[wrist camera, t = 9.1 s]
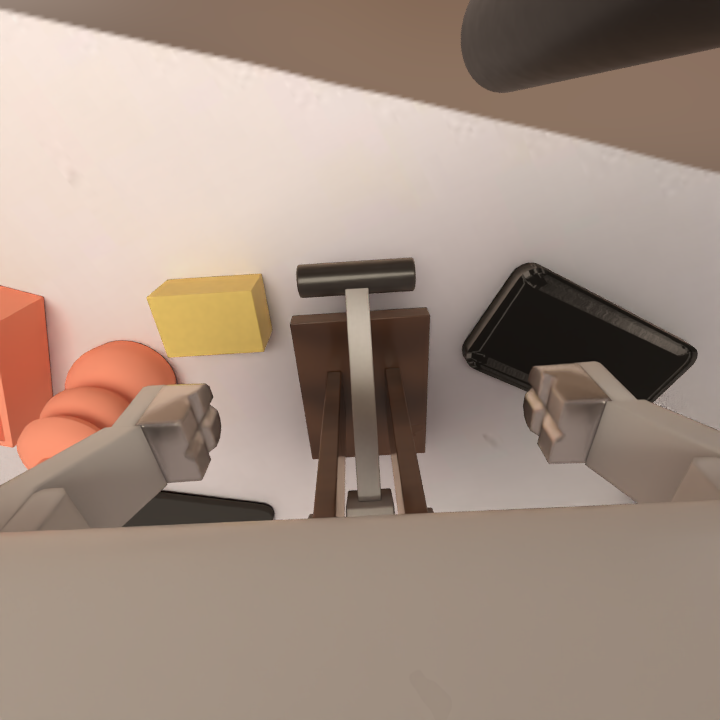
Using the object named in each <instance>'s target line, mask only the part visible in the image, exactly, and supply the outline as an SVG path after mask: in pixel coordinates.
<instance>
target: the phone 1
mask: <svg viewBox="0 0 720 720" xmlns="http://www.w3.org/2000/svg"><path fill="white" fill-rule="evenodd" d="M273 516H274V512H273V510H272V508H271V507H269V506H267V505H264V504H257V503H249V502H240V501H232V500H223V499H215V498H206V497H198V496H189V495H181V494H172V493H164V492H159V493H158V494H157V495H156V496H155V497H154V498H152V499H151V500H150V501H149V502H148V503H147V504H146V505H145V506H144V507H143V508H142V509H141V510H139V511H138V512H137V513H136V514H135V515H134V516H133V517H132V518H131V519H130V520H129V521H127V522H126V523H125V524H124V525H123V526H122V527H134V526H156V525H178V524H200V523H222V522H244V521H266V520H273Z"/></svg>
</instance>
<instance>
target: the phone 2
mask: <svg viewBox="0 0 720 720" xmlns="http://www.w3.org/2000/svg"><path fill="white" fill-rule="evenodd" d="M462 351H463V355H464V357H465V359H466V361H467V363H468V365H469V366H470V367H472V368H473V369H475V370H478V371H480V372H483V373H485V374H487V375H490V376H492V377H494V378H497V379H499V380H501V381H504V382H506V383H509V384H511V385H513V386H516V387H518V388H520V389H523V390H525V391H527V392H528V391H529V390H530V389H531V388H532V386H531V384H530V383H529V381H528V378H529V373H530V371H531V369H532V367H533V366H544V365H558V364H572V363H580V362H591V361H596V362H599V363H601V364H602V365H603V366H604V367H605V368H606V369H607V370H608V371H609V372H610V373H611V374H612V375H613V376H614V377H615V378H616V379H617V380H618V381H619V382H620V383H621V384H622V385H623V386H624V387H625V388H626V389H627V390H628V391H629V392H630V393H631V394H632V395H633V396H634V397H635V398H636V399H637V400H646V401H649V402H651V403H653V402H654V401H655V400H656V399H657V398H658V397H659V396H660V395H661V394H662V393H664V392H665V391H666V390H667V389H668V388H669V387H670V386H671V385H672V384H673V383H674V382H675V381H676V380H677V379H678V378H679V377H680V376H682V375H683V374H684V373H685V372H686V371H687V370H688V369H689V368H690V367H691V366H692V365H693V364H694V363H695V361H696V359H697V355H698V353H697V350H696V349H695V348H694V347H693V346H691V345H690V344H688V343H687V342H685V341H684V340H682V339H680V338H678V337H676V336H674V335H673V334H671V333H669V332H667V331H665V330H663V329H661V328H659V327H657V326H655V325H653V324H652V323H650V322H648V321H646V320H644V319H642V318H640V317H638V316H636V315H634V314H632V313H631V312H629V311H627V310H625V309H623V308H621V307H619V306H617V305H615V304H613V303H611V302H610V301H608V300H606V299H604V298H602V297H600V296H598V295H596V294H594V293H592V292H590V291H589V290H587V289H585V288H583V287H581V286H579V285H577V284H575V283H573V282H571V281H570V280H568V279H566V278H564V277H562V276H560V275H558V274H556V273H554V272H552V271H550V270H549V269H547V268H545V267H543V266H541V265H539V264H536V263H526V264H523V265H521V266H519V267H518V268H516V269H515V271H514V272H513V273H512V274H511V276H510V277H509V278H508V280H507V281H506V283H505V284H504V286H503V287H502V289H501V290H500V292H499V293H498V294H497V296H496V297H495V299H494V300H493V302H492V303H491V305H490V306H489V308H488V309H487V310H486V312H485V313H484V315H483V316H482V318H481V319H480V321H479V322H478V323H477V325H476V326H475V328H474V329H473V331H472V332H471V334H470V335H469V337H468V338H467V339H466V341H465V343H464V345H463V349H462Z"/></svg>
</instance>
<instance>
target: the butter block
mask: <svg viewBox="0 0 720 720" xmlns="http://www.w3.org/2000/svg"><path fill="white" fill-rule="evenodd" d="M147 301H148V303H149V306H150V309H151V312H152V314H153V317H154V320H155V323H156V325H157V328H158V331H159V334H160V336H161V339H162V342H163V345H164V347H165V350H166V353H167V356H168V357H185V356H201V355H218V354H234V353H250V352H264V350H265V348H266V345H267V343H268V340H269V337H270V335H271V332H272V325H271V320H270V315H269V310H268V305H267V300H266V295H265V289H264V284H263V279H262V274H249V275H233V276H217V277H202V278H186V279H171V280H167V281H165V282H164V283H163V284H162V285H161V286H159V287H158V288H157V289H156V290H155V291H153V292H152V293H151V294H150V295H149V296H147Z"/></svg>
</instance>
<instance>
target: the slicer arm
mask: <svg viewBox="0 0 720 720" xmlns="http://www.w3.org/2000/svg"><path fill="white" fill-rule="evenodd" d="M296 277H297V287H298V292H299V295H300V297H301V298H308V297H324V296H340V295H345V297H346V313H347V329H348V345H349V362H350V378H351V394H352V410H353V427H354V443H355V459H356V475H357V490H353V491H348V497H347V505H346V517H353V516H374V515H395V511H394V503H393V498H392V493H391V489H389V488H388V489H381V485H380V469H379V453H378V436H377V420H376V403H375V387H374V370H373V354H372V337H371V321H370V305H369V294H372V293H387V292H403V291H413V290H414V289H415V282H416V273H415V263H414V260H413V258H397V259H382V260H366V261H351V262H335V263H320V264H304V265H298V266H297V272H296Z"/></svg>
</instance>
